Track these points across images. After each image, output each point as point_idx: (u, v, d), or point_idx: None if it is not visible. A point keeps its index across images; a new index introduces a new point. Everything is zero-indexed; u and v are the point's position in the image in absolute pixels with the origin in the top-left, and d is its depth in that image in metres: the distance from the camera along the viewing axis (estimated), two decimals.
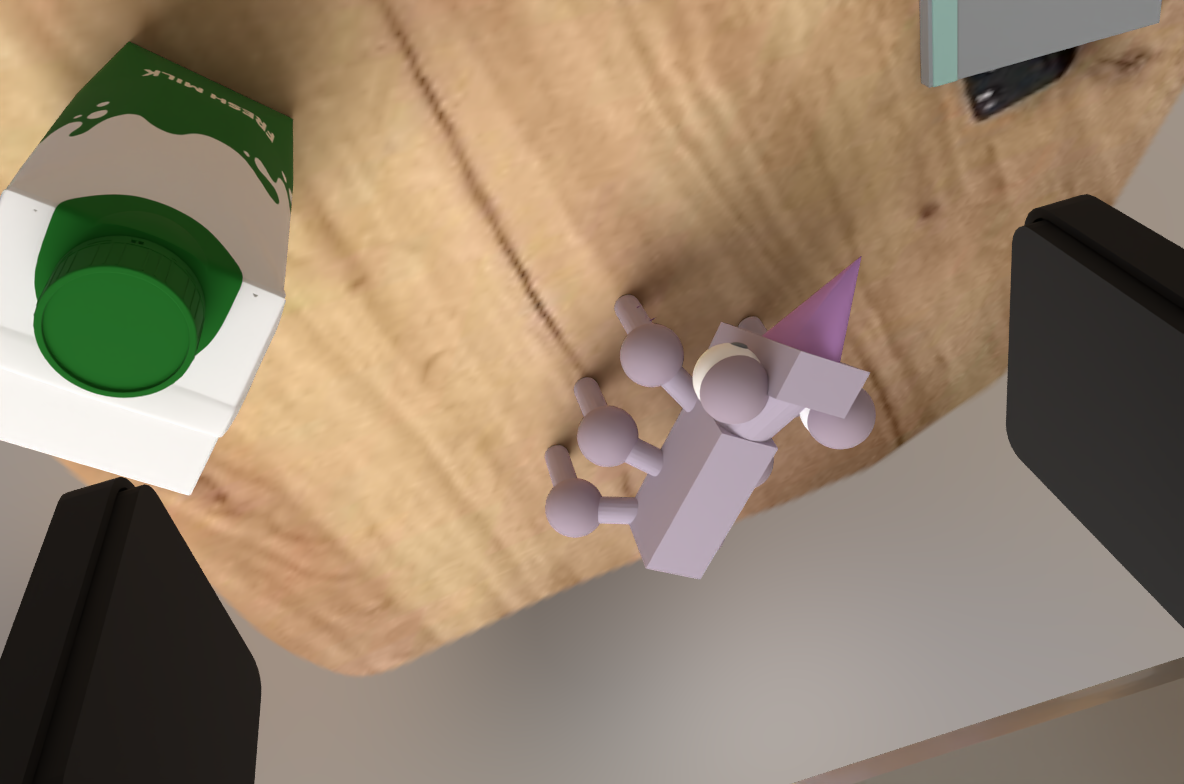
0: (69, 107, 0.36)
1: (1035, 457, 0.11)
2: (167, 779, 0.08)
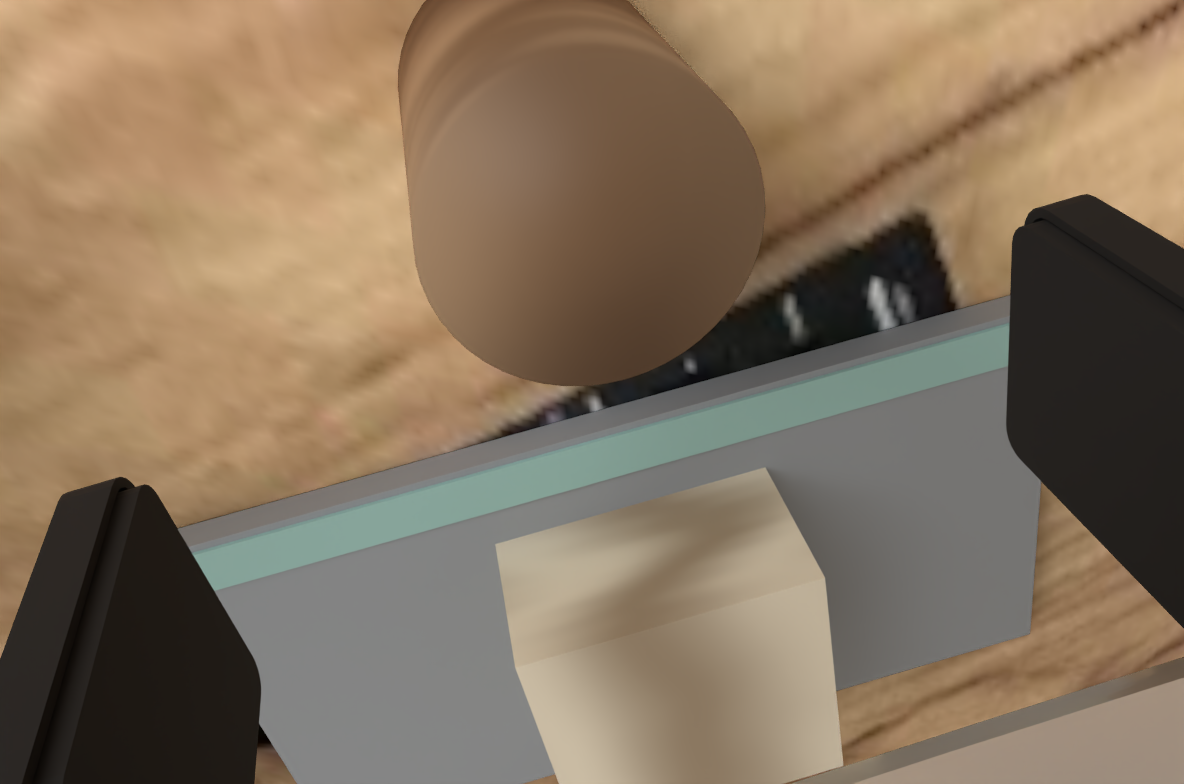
0: None
1: (1035, 457, 0.11)
2: (167, 779, 0.08)
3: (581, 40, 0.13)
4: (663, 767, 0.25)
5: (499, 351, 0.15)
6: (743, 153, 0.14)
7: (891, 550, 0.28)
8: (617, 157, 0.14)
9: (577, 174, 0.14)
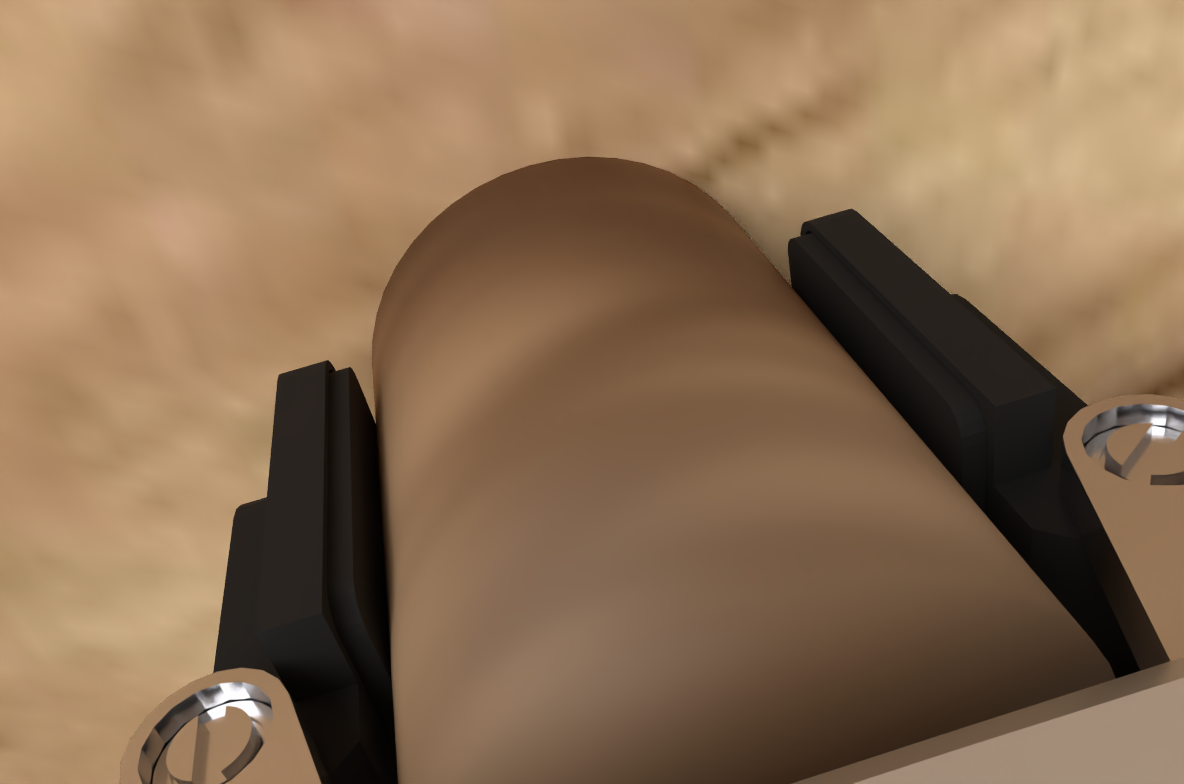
0: None
1: None
2: None
3: (773, 506, 0.06)
4: None
5: None
6: None
7: None
8: (847, 740, 0.06)
9: (763, 776, 0.06)
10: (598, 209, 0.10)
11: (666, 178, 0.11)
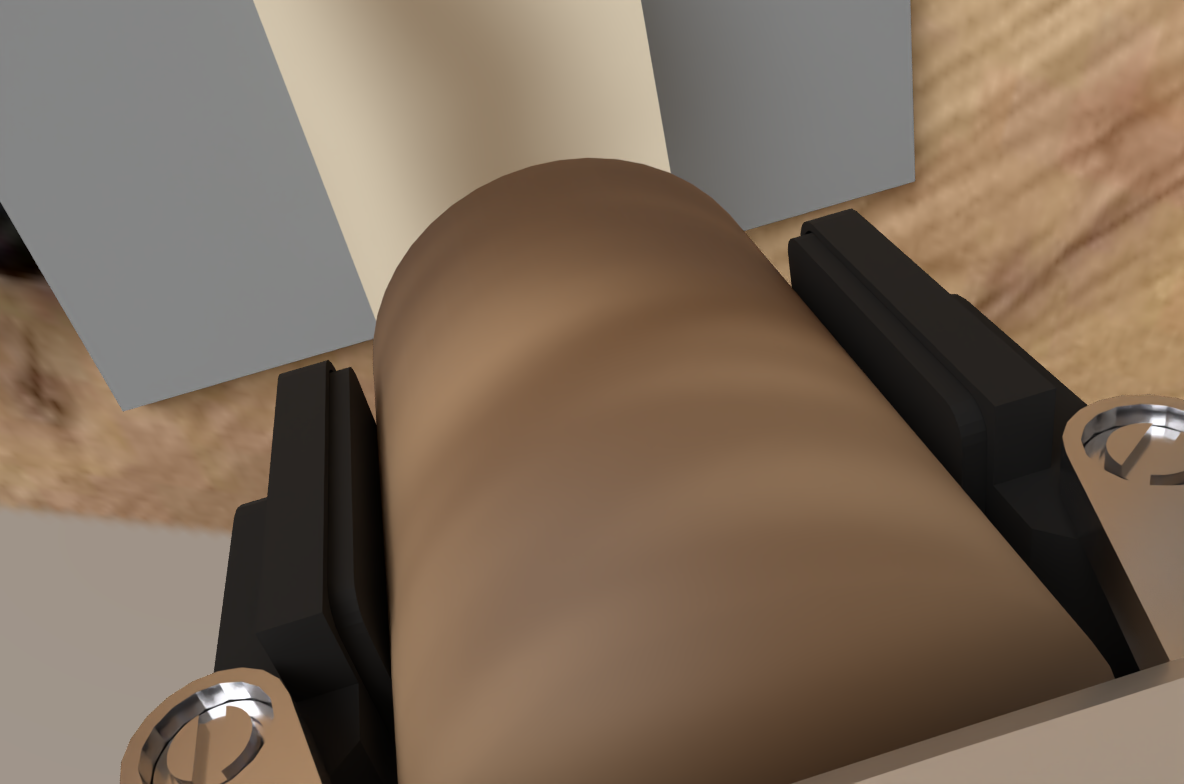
0: None
1: None
2: None
3: (773, 507, 0.06)
4: None
5: None
6: None
7: (742, 28, 0.24)
8: (849, 740, 0.06)
9: (763, 779, 0.06)
10: (598, 210, 0.10)
11: (667, 179, 0.11)
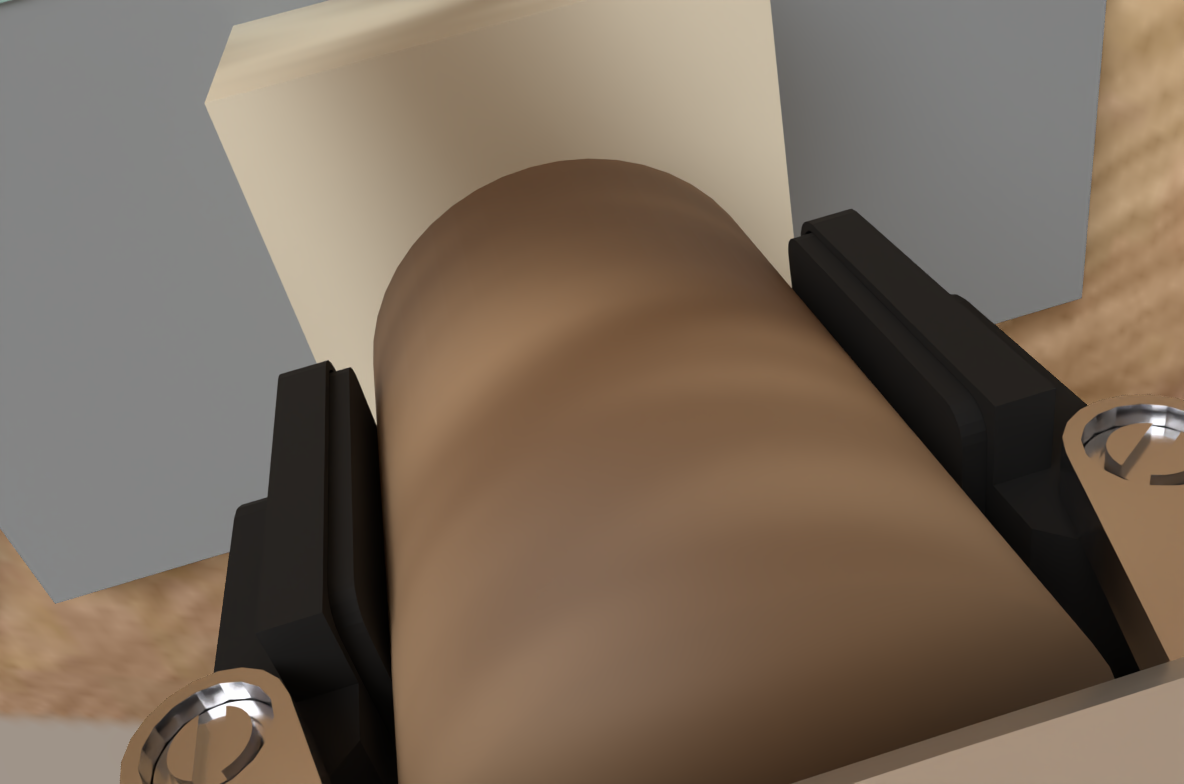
0: None
1: None
2: None
3: (773, 509, 0.06)
4: None
5: None
6: None
7: (880, 112, 0.18)
8: (847, 744, 0.06)
9: (763, 779, 0.06)
10: (599, 211, 0.10)
11: (667, 179, 0.11)
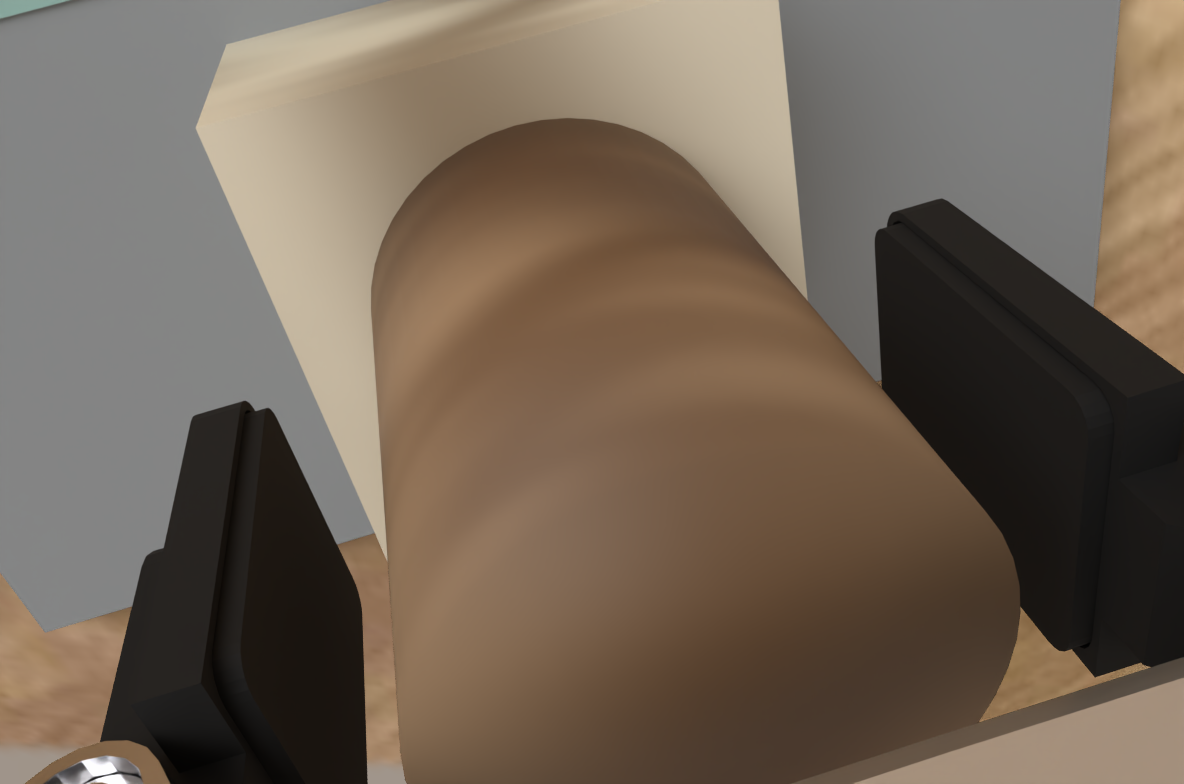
0: None
1: None
2: (306, 668, 0.09)
3: (711, 393, 0.07)
4: None
5: None
6: (994, 567, 0.08)
7: (888, 129, 0.18)
8: (775, 594, 0.07)
9: (705, 627, 0.07)
10: (575, 163, 0.11)
11: (640, 137, 0.12)
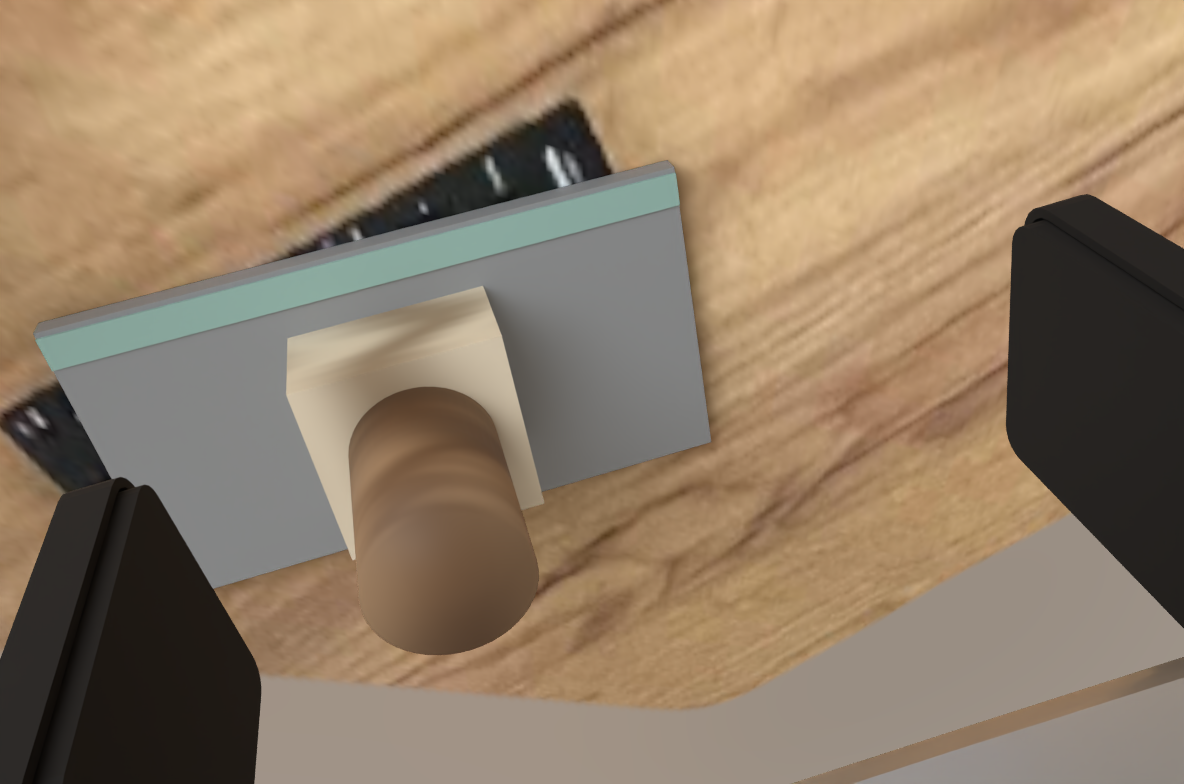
0: None
1: (1035, 457, 0.11)
2: (167, 779, 0.08)
3: (442, 499, 0.28)
4: None
5: (403, 641, 0.29)
6: (524, 547, 0.28)
7: (589, 361, 0.39)
8: (460, 553, 0.28)
9: (441, 562, 0.28)
10: (423, 411, 0.31)
11: (452, 394, 0.33)
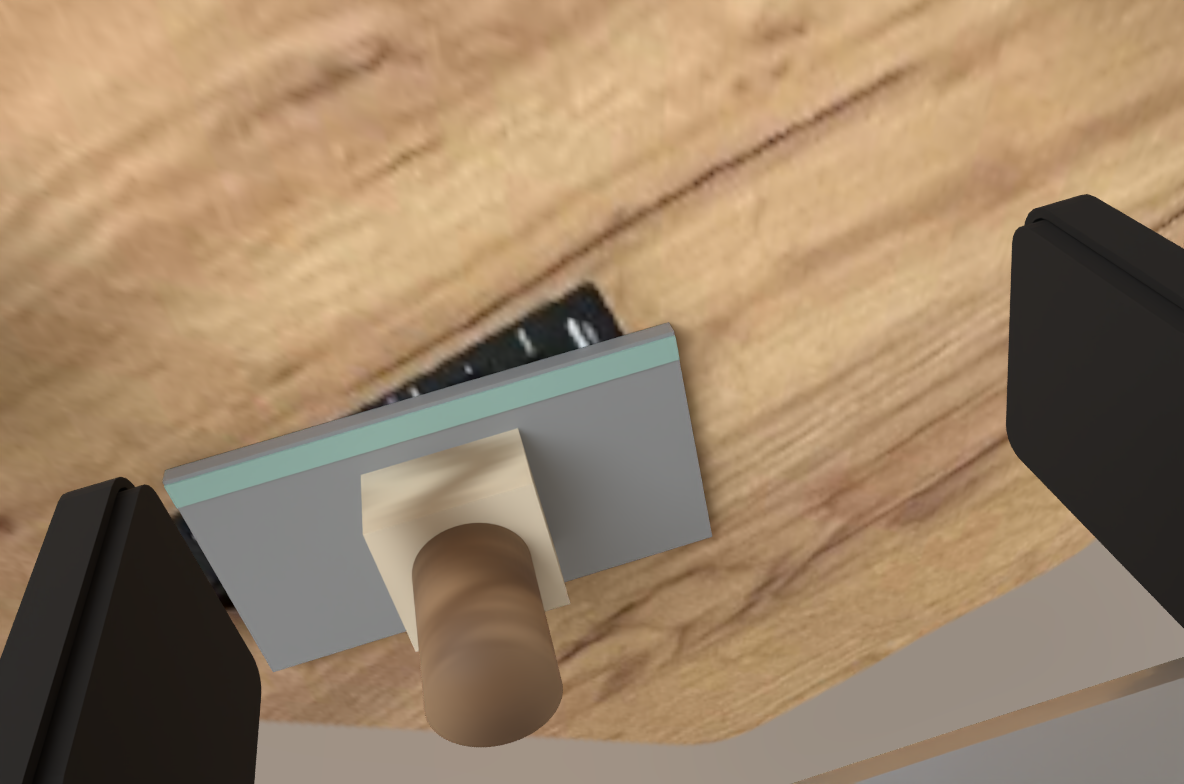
0: None
1: (1035, 457, 0.11)
2: (167, 778, 0.08)
3: (487, 636, 0.36)
4: None
5: (458, 738, 0.37)
6: (551, 670, 0.36)
7: (607, 480, 0.46)
8: (501, 676, 0.36)
9: (487, 683, 0.36)
10: (471, 548, 0.40)
11: (494, 529, 0.41)
